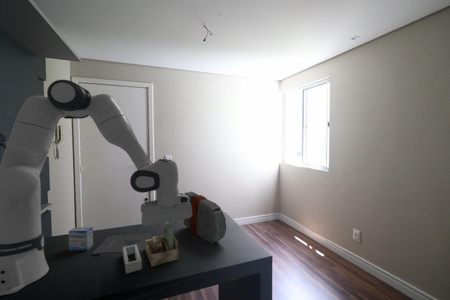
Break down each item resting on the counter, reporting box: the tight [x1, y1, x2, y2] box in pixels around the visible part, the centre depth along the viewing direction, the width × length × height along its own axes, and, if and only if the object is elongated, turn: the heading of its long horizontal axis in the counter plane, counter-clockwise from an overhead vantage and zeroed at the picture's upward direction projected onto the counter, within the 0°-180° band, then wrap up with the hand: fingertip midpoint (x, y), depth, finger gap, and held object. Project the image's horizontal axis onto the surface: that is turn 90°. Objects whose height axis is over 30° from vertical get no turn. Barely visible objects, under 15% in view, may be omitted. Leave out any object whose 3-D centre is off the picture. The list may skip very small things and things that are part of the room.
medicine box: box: [68, 226, 94, 252], centre depth 95 cm, size 8×4×9 cm, turn 93°
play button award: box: [91, 233, 153, 256], centre depth 98 cm, size 16×2×20 cm
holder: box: [122, 243, 143, 274], centre depth 83 cm, size 5×14×4 cm, turn 29°
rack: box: [144, 234, 179, 267], centre depth 88 cm, size 10×14×8 cm
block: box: [162, 222, 174, 250], centre depth 89 cm, size 2×10×12 cm, turn 29°
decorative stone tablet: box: [183, 191, 227, 244], centre depth 105 cm, size 19×6×30 cm
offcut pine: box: [151, 235, 162, 248], centre depth 87 cm, size 3×6×2 cm, turn 24°
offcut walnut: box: [151, 242, 164, 254], centre depth 87 cm, size 3×7×2 cm, turn 33°
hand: (168, 231), depth 89 cm, fingers closed on block, 2 cm apart
